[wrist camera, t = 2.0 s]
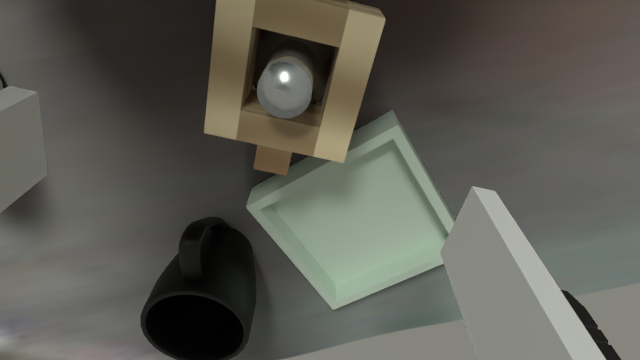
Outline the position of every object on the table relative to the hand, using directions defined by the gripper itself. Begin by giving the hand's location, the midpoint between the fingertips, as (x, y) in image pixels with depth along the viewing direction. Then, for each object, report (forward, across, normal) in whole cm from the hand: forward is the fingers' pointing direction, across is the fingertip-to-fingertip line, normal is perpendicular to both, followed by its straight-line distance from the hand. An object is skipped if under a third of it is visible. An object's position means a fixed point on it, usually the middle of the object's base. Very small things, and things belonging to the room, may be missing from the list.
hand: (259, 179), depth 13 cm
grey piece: (+19, 0, 0) cm, 19 cm away
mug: (+20, -4, -18) cm, 27 cm away
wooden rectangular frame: (+13, 0, 0) cm, 13 cm away
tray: (+20, +8, -13) cm, 25 cm away
